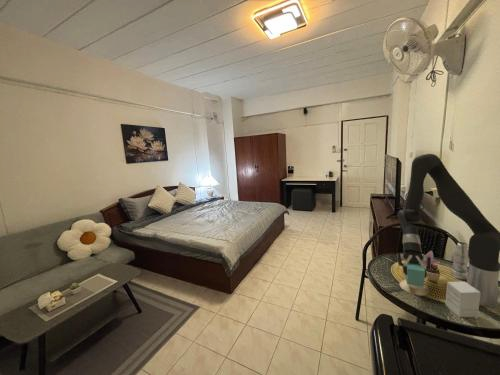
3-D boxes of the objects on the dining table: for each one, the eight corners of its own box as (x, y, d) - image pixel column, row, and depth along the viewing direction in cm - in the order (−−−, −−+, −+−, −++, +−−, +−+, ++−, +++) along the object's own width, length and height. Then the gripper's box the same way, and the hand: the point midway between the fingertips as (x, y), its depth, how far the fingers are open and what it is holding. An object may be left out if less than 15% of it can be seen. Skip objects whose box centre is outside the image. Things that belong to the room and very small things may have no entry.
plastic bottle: (449, 278, 112) (453, 244, 108) (450, 273, 117) (454, 239, 113) (467, 283, 107) (471, 247, 104) (467, 277, 112) (471, 242, 108)
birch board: (428, 286, 108) (428, 284, 107) (429, 300, 98) (430, 298, 98) (399, 279, 115) (400, 277, 115) (398, 291, 106) (398, 289, 105)
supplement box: (462, 306, 94) (465, 281, 92) (478, 319, 87) (481, 292, 84) (444, 306, 95) (446, 281, 92) (458, 319, 87) (461, 292, 85)
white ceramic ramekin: (418, 286, 107) (418, 281, 106) (418, 290, 104) (418, 284, 103) (409, 284, 109) (409, 278, 108) (409, 288, 106) (409, 282, 106)
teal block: (404, 276, 110) (405, 261, 109) (420, 279, 107) (421, 264, 106) (407, 284, 105) (408, 268, 103) (423, 287, 102) (425, 271, 100)
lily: (409, 268, 125) (415, 260, 119) (412, 254, 132) (419, 245, 126) (433, 280, 119) (442, 272, 113) (436, 264, 126) (444, 255, 119)
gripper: (396, 239, 112) (398, 271, 104) (430, 243, 106) (436, 277, 98) (394, 244, 118) (396, 275, 110) (427, 248, 111) (431, 281, 103)
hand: (415, 276), depth 104 cm, fingers closed on teal block, 6 cm apart
